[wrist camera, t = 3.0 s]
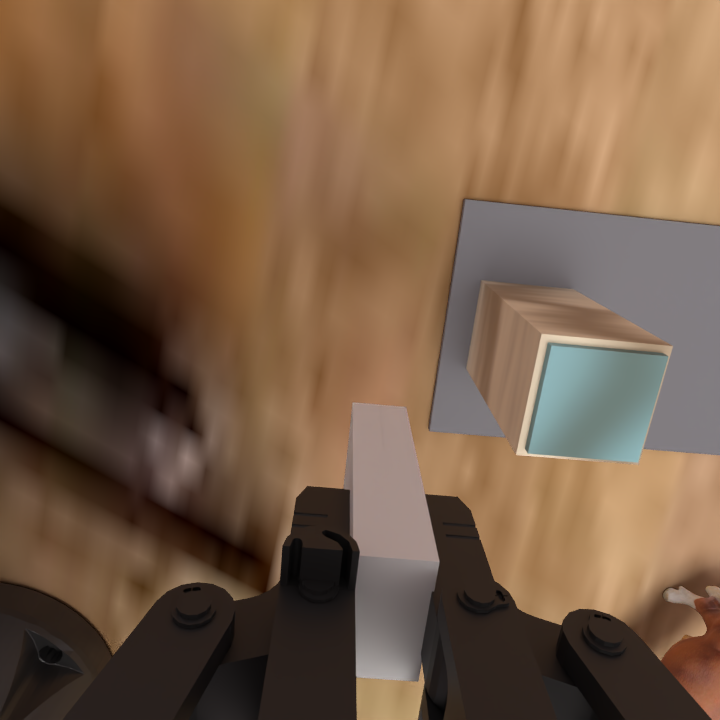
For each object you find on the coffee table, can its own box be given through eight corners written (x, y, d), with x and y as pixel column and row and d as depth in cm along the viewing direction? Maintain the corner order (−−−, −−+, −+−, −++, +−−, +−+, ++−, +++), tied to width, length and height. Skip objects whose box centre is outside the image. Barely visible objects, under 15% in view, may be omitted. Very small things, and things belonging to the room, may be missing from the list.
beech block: (466, 368, 32) (519, 459, 23) (481, 280, 31) (545, 336, 21) (553, 376, 33) (643, 469, 23) (573, 289, 31) (679, 349, 21)
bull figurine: (551, 668, 40) (600, 788, 33) (712, 549, 37) (808, 650, 30) (590, 700, 41) (647, 824, 34) (750, 587, 38) (852, 694, 31)
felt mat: (428, 428, 34) (429, 431, 34) (464, 198, 30) (465, 199, 29) (787, 458, 35) (792, 461, 35) (870, 241, 31) (876, 242, 31)
